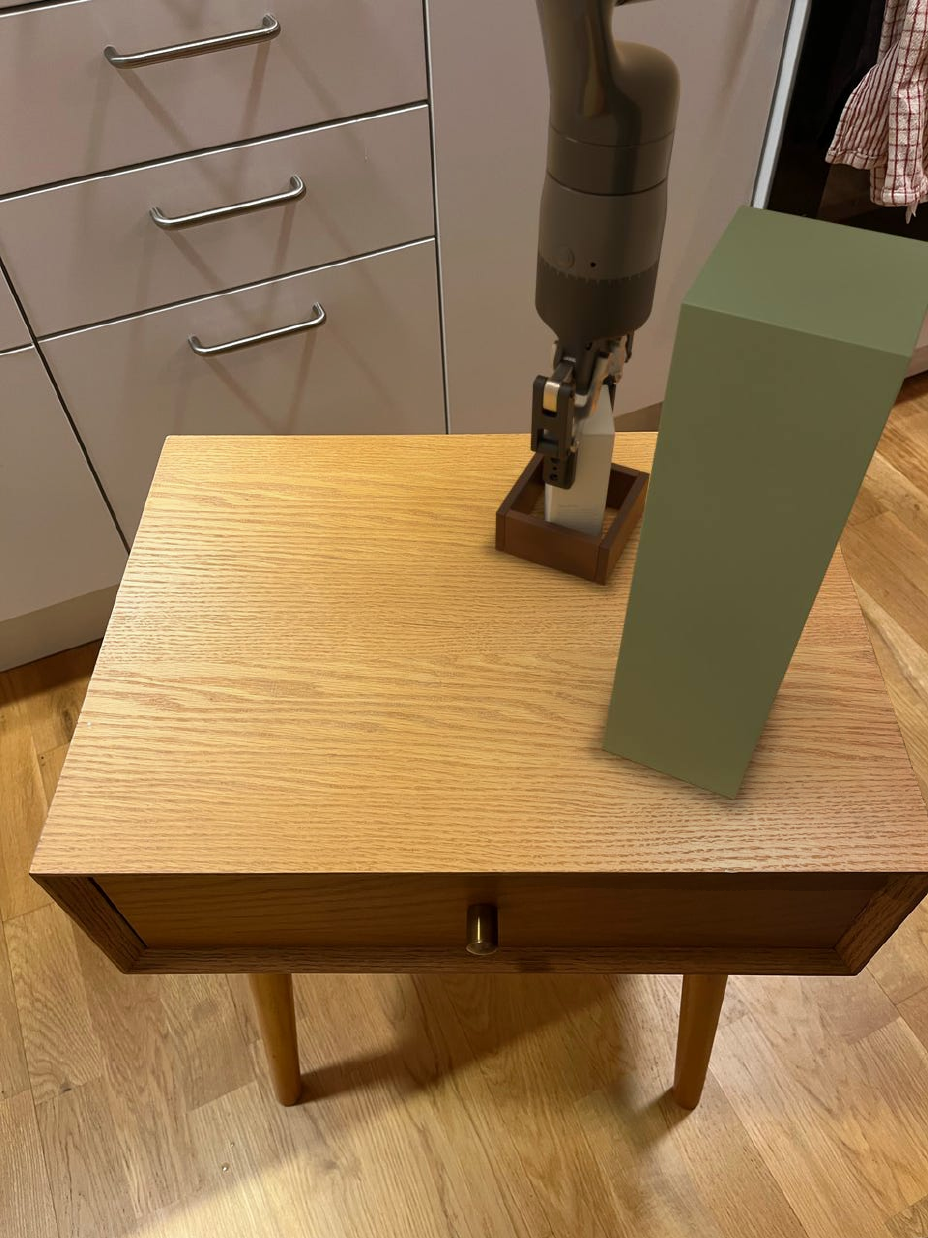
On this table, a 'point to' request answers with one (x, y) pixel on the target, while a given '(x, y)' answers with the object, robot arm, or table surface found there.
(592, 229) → the robot arm
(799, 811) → the table surface
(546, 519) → the cosmetic box
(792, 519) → the pedestal
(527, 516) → the holder
